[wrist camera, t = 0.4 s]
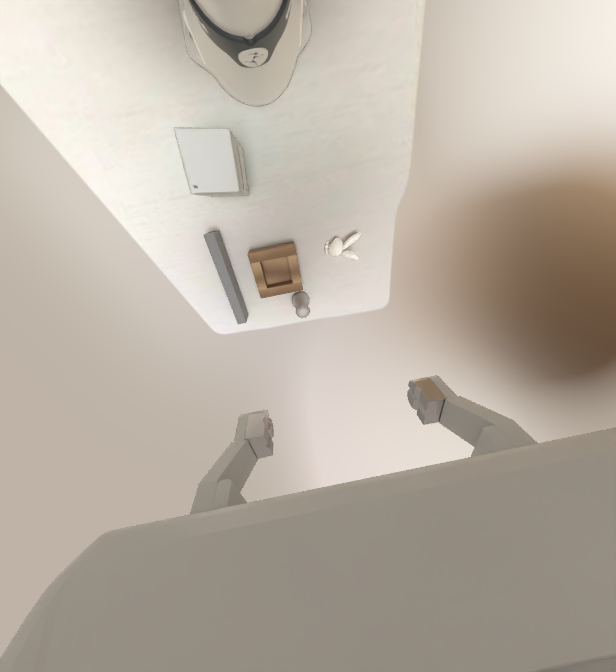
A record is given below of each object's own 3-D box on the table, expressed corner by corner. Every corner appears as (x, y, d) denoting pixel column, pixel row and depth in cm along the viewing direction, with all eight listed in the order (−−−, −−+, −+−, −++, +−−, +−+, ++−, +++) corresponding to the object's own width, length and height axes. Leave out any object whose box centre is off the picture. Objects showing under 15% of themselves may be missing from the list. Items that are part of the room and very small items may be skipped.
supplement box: (250, 196, 43) (240, 194, 32) (211, 196, 42) (188, 195, 32) (243, 147, 39) (230, 126, 28) (201, 147, 39) (171, 126, 28)
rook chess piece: (294, 309, 57) (296, 323, 50) (289, 293, 55) (290, 306, 48) (310, 304, 57) (315, 318, 50) (306, 289, 54) (310, 301, 48)
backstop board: (209, 232, 46) (203, 234, 42) (219, 230, 46) (213, 232, 42) (240, 315, 56) (238, 324, 52) (248, 314, 56) (246, 322, 52)
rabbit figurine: (325, 230, 48) (361, 228, 45) (329, 239, 52) (363, 238, 49) (321, 256, 48) (358, 256, 45) (325, 263, 51) (359, 264, 49)
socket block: (249, 250, 48) (247, 253, 45) (293, 242, 48) (294, 244, 45) (261, 293, 53) (260, 298, 50) (301, 285, 53) (303, 290, 50)
